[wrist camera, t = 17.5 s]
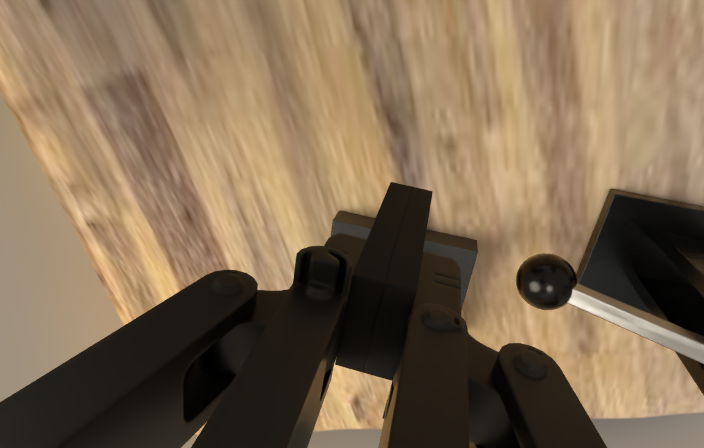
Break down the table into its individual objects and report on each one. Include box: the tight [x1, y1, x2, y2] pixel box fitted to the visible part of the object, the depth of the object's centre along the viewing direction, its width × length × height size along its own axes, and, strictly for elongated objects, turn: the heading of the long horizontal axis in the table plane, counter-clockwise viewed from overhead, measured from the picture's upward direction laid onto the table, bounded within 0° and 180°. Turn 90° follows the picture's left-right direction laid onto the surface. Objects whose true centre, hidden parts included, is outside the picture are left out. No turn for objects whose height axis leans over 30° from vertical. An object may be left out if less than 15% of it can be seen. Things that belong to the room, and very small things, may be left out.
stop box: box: [331, 211, 478, 309], centre depth 39 cm, size 12×9×4 cm
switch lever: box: [516, 254, 704, 364], centre depth 26 cm, size 15×4×4 cm, turn 83°
